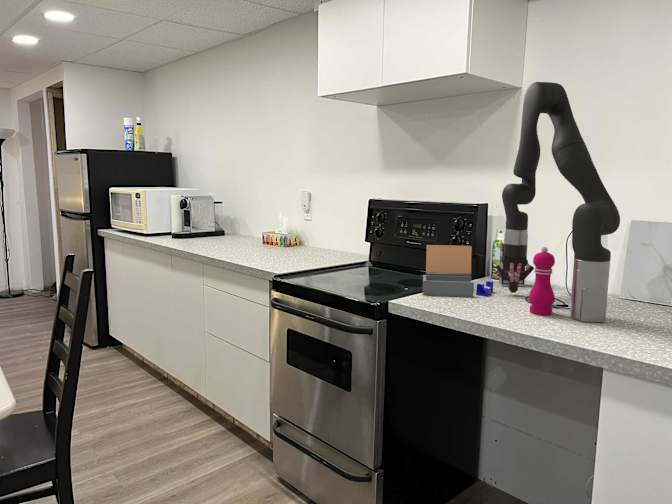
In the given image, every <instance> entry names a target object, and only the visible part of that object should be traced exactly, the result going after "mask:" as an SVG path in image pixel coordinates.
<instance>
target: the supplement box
mask: <svg viewBox="0 0 672 504" xmlns="http://www.w3.org/2000/svg"><path fill="white" fill-rule="evenodd" d="M499 244H500V245H499V246H500V248H499V251H500V252H499V264H500V263H501V262H502V259H503V256H504V242H501V243H499ZM502 270H503V272H504V273H505V274H506V275H507V276H508V277H509V273H508V270H507V269H506V268H505V266H504V265H503V269H502ZM525 270H526V267H525V268H524V269H523V270H522V271H521V272H520V276H521V275H522V274H523V273H524V271H525ZM498 272H499V271H498ZM514 273H515V272H514ZM514 275H515V274H514ZM520 276H519V277H520ZM525 281H526V278H525V279H524V280H523V281H519V282H518V287H525ZM498 284H499V285H500V286H501V287H509V281H508V280H505V279H504V277H503V276H502V275H501V274H500V272H499V273H498Z"/></svg>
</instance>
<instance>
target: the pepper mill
mask: <svg viewBox="0 0 672 504" xmlns="http://www.w3.org/2000/svg"><path fill="white" fill-rule="evenodd" d="M540 250H541V252H537V253H536V254H535V255H534V256H533V259H532V263H533V265H534V266H535V267H534V270H533V272H534V273H535V280H534V283H533V285H532V288H531V290H530V291H529V294H528V301H529V303H530V304H531V305H529V313H531V314H533V315H537V316H551V315H552V314H553V307H551V306H552V305H554V303H555V300H556V299H555V297H556V296H555V293H554V291H553V288H552V283H551V275H553V269H552V268H553V266H555V264H556V259H555V256H554V255H553V254H552V253H549V252H548V251H549V248H547V247H546V246H543V247H542V248H541V249H540Z"/></svg>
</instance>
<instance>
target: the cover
mask: <svg viewBox="0 0 672 504" xmlns="http://www.w3.org/2000/svg"><path fill="white" fill-rule="evenodd" d="M472 249H473V248H472V245H455V244H454V245H445V244H426V251H425V252H426V261H425V275H441V276H471V277H472V251H473V250H472Z"/></svg>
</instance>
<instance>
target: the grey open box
mask: <svg viewBox="0 0 672 504" xmlns="http://www.w3.org/2000/svg"><path fill="white" fill-rule="evenodd" d="M474 288H475V282H474V281H472V275H471V276H458V275H427V274H423V275H422V296H434V297H435V296H439V297H463V298H467V297H469V298H474V291H475V289H474Z"/></svg>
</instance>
